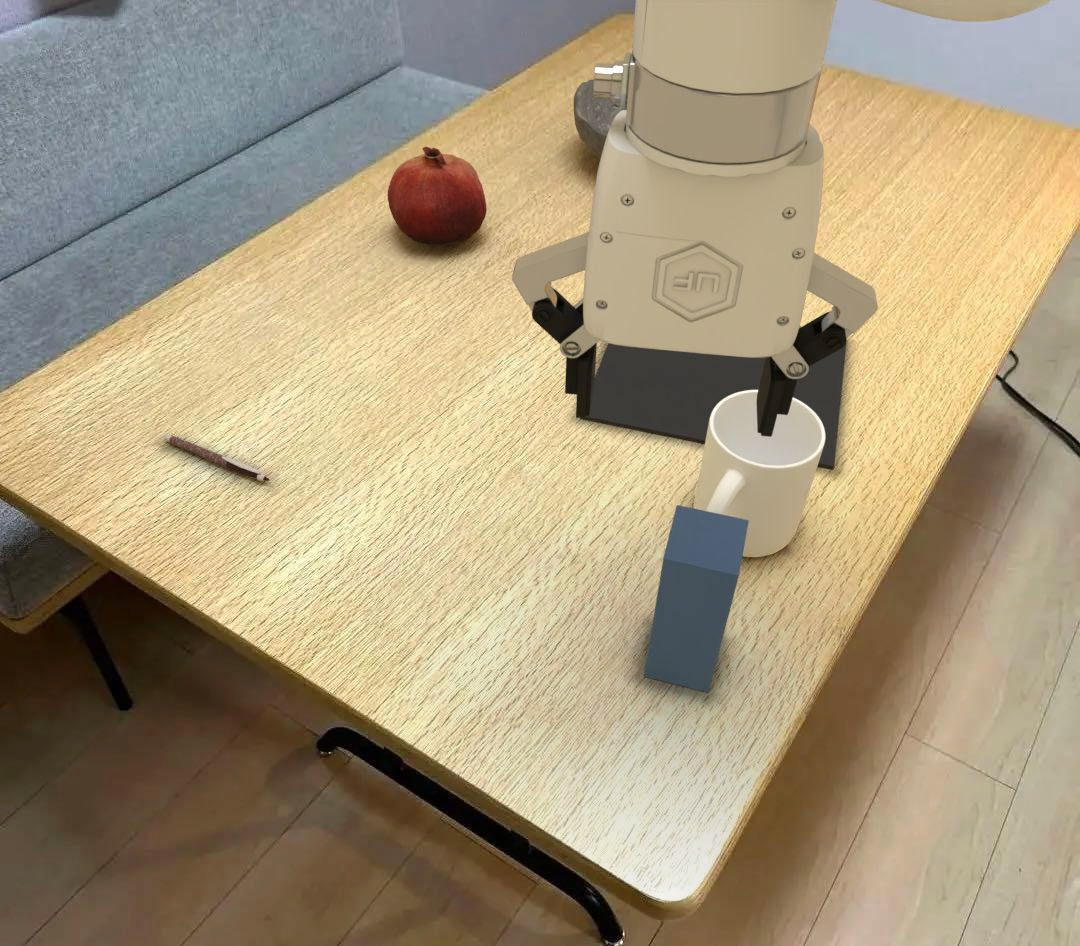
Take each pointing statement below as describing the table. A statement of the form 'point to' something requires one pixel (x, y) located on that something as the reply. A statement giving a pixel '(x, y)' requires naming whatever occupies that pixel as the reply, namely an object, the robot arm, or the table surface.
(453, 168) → the fruit
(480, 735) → the table surface
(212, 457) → the pen
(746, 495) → the mug
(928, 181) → the table surface
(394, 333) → the table surface
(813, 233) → the robot arm
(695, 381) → the mat
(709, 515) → the block
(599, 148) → the bowl
